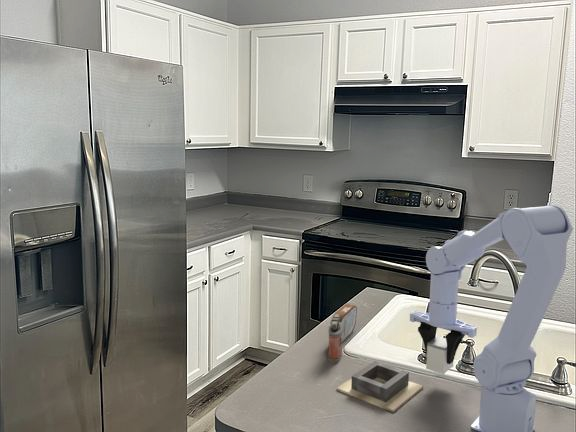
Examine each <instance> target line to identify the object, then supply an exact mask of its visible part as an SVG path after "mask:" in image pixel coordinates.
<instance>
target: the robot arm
mask: <svg viewBox="0 0 576 432" xmlns="http://www.w3.org/2000/svg"><path fill="white" fill-rule="evenodd" d="M573 231H574V228H573V225H572V223H571V221H570V218H569V216H568V215H567V212H566V211H565V210H564V209H563V208H562V207H561V206H559V205H557V204H548V205H545V206H534V207H533V206H532V207H523V208H522V207H521V208H520V207H512V208H509V209H508V210H506V211H504V212H502V213H499V214H498V216H497V218H495V219H494V220H492V221H491V222H488V224H486V225H485V226H483V227H482V228H481V229H479V230H477V231H476V232H475V231H473V230H469V231H468V230H461V231H459V232H457V235H458V236H457V237H455V238H453V239H448V240H446V241H444V244H442V246H436V245H435V246H431V247H430V248H429V249H428V250H427V252H426V255H425V262H426V263H425V264H426V267H427V269H428V270H429V271H430V284H429V285H430V286H429V287H430V289H429V308H428V312H423V311H422V312H421V311H417V310H413V311H412V312H410V313H409V322H412V323H415V322H416V323H419V324H420V325H419V326H418V327H417V332H418V333H419V335H420V337H421V338H422V343H423V344H424V348H425V349H424V350H425V353H426V354H427V343H428V342H430V341H431V340H433V339H434V338H436V337H437V336H436V335H437V330H438V328H439V329H442V330H446V331H450V332H448V333H447V334H446V335H445V338H446V341H447V364H451V363H452V362H453V363H454V362H455V361H454V360H455V357H456V355H457V354H456V353H457V350H458V348H459V346H460V344H461V343H462V340H463V339H464V337H465V336H467V337H469V338H471V339H474V338H475V337H476V336H477V333H478V332H477V330H478V327H477V326H476V325H472V324H469V323H467V322H466V321H463V320H460V319H458V318H457V314H458V313H457V311H458V296H459V295H458V294H459V280H461V278H462V273H463V270H464V269H465V268H466V267H467V265H469V263H472V262H474V261H476V260H478V259H480V258H481V257H482V256H484V254H485V252H486V249H487V248H488V247H490V246H493V245H494V244H497V243H499V242H501V241H504V240H506V242H507V243H508V245H509V247H511V249H512V251H513V252H514V253H515V255H516V257H517V258H518V259H519V261H520V262H521V263H523V264H525V266H526V268H525V271H524V273H523V275H522V278H521V280H520V283H519V285H518V288H517V290H516V292H515V294H514V297H513V300H512V302H511V304H510V307H509V309H508V312H507V314H506V316H505V319H504V321H503V324H502V326H501V329H500V331H499V333H498V335H497V336H496V337H495V338H494V339H493V340H492V341H490V342H488V343H487V344H486V345H485V346H483V347H484V348H483V350H482V351H481V353H479V354H477V355H476V356H475V358H474V360H473V366H472V367H473V373H474V376H475V378H476V380H477V381H478V384H479V385H481V386H480V388H481V389H480V390H481V391H480V402H479V403H480V404H479V415H478V417H476V419H475V420H474V421H473V423H472V424H470V428H471V429H472V430H475V431H477V432H534V431H535V416H536V408H537V407H536V405H537V397H536V394H534V393H533V392H531V391H529V390H527V389H526V388H524V387H526V386H527V380H530V379H531V378H532V376H533V375H534V373H535V359H536V357H537V353H536V351H535V349H534V347H532V342H533V341H534V339H535V337H536V334H537V332H538V330H539V327H540V326H541V323H542V321H543V320H544V317H545V314H546V312H547V310H548V308H549V306H550V304H551V301H552V299H553V297H554V295H555V292H556V291H557V289H558V286H559V284H560V282H561V279H562V278H563V275H564V273H565V270H566V267H567V266H566V265H567V264H566V263H567V249H568V248H567V244H568V242H569V239H570V237H571V234H572V232H573Z"/></svg>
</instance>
